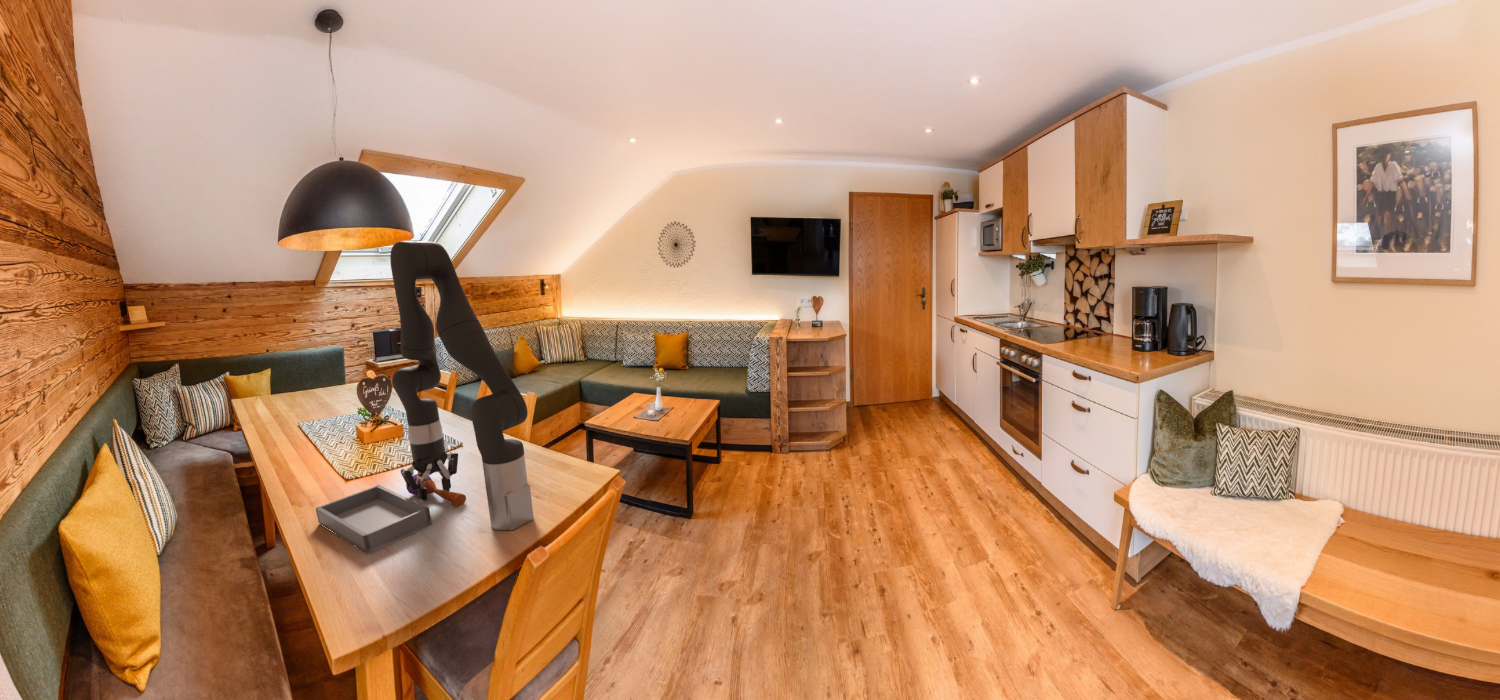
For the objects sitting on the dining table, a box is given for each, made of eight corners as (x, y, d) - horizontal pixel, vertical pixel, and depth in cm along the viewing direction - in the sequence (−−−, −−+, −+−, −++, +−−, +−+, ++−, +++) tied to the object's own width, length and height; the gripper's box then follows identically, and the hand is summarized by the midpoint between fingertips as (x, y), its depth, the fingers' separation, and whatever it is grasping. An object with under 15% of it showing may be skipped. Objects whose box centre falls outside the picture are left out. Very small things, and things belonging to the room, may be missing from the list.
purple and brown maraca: (446, 498, 123) (398, 479, 130) (452, 516, 125) (405, 496, 133) (467, 484, 128) (420, 467, 135) (473, 502, 130) (426, 483, 138)
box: (431, 524, 118) (429, 508, 117) (367, 554, 106) (363, 536, 105) (381, 499, 130) (378, 484, 129) (319, 524, 119) (315, 508, 118)
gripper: (404, 450, 119) (414, 511, 123) (461, 431, 131) (469, 487, 135) (389, 444, 123) (399, 504, 126) (446, 426, 135) (454, 481, 138)
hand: (435, 495), depth 130 cm, fingers closed on purple and brown maraca, 5 cm apart
